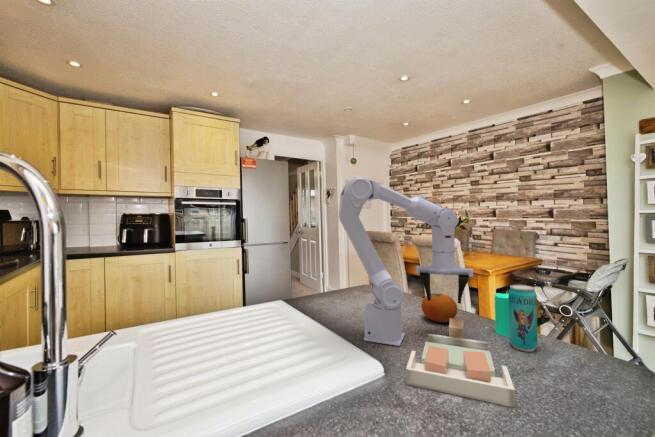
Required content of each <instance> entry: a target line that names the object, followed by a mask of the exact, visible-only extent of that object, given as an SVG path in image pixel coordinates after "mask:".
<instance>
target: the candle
mask: <svg viewBox="0 0 655 437" xmlns="http://www.w3.org/2000/svg"><path fill="white" fill-rule="evenodd" d="M494 326H495V334H498V335H499V336H502V337H506V338H509V292H507V293H499V292H497V293H494Z"/></svg>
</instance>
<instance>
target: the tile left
mask: <svg viewBox="0 0 655 437" xmlns="http://www.w3.org/2000/svg"><path fill="white" fill-rule="evenodd" d="M448 361H449V350H447V349H443V348H439V347H434V346H430V345H429V347H428V350H427V354H426V357H425V361H424V365H425V371H430V372H435V373H440V374H446V372H447V366H448Z"/></svg>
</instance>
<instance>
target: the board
mask: <svg viewBox="0 0 655 437" xmlns="http://www.w3.org/2000/svg"><path fill="white" fill-rule="evenodd" d="M424 343H425V344H424V348H423V351H422V354H421V355H422V356H421V364H424V361H425V357H426V354H427V350H428V347H429V345H430V346H434V347H439V348H443V349H447V350H449V361H448V366H447V368H449V369H454V370H460V371H465V372H466V370H465V366H464V362H463V351H473V352H484V353H485V355H486V358H487V361H488V364H489V367H490V370H491V376H493V377H496V371H495V370H496V369H495V366H494V362H493V358H492V354H491V350H490V351H489V350H487V351H486V350H479V349H472V348H466V347H459V346H453V345H446V344H439V343H433V342H428V341H425V342H424Z"/></svg>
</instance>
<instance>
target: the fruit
mask: <svg viewBox="0 0 655 437" xmlns="http://www.w3.org/2000/svg"><path fill="white" fill-rule="evenodd" d="M421 311H422V313H423V314H424V315H425V317H427V318H428V319H429V320H431V321H434V322H436V323H448V322H450V318H453V319H455V318H456V315H457V313H458V305H457V302H456V301H455V300H454V299H453V298H452V296H450V295H446V294H443V293H435V292H434V293H431V300H430V301H428V299H427V295H426V296H424V297H423V299H422V301H421Z"/></svg>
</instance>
